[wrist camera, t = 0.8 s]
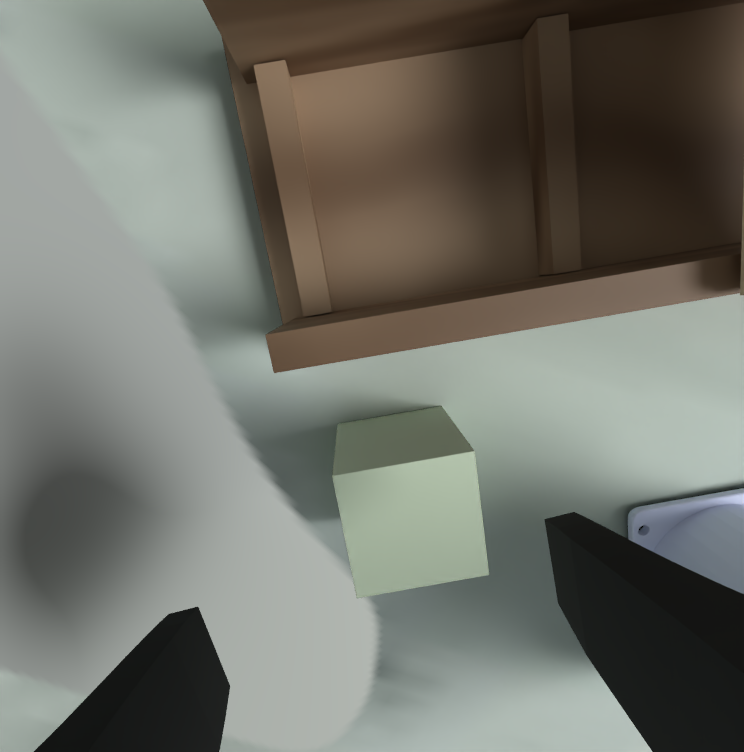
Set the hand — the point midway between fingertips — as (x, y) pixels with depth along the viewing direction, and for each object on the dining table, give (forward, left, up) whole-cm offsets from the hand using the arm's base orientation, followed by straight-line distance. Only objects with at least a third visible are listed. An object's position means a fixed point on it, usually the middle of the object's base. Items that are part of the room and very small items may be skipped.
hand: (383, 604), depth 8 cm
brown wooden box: (+9, -10, -10) cm, 17 cm away
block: (-2, -1, -10) cm, 10 cm away
